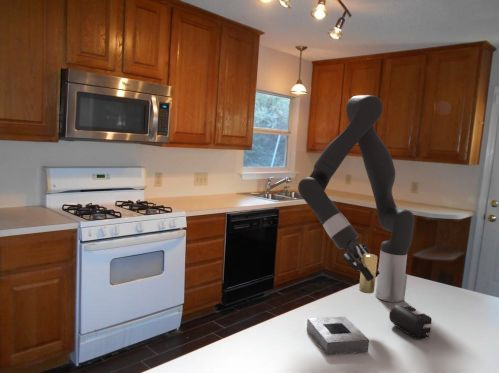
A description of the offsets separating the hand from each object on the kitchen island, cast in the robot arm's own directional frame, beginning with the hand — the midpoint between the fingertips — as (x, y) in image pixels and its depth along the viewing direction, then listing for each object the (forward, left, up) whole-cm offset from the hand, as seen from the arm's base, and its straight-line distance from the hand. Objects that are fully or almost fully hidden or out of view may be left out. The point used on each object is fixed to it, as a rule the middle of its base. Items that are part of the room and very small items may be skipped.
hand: (374, 277), depth 122 cm
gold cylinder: (+1, -1, -5) cm, 5 cm away
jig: (+14, +7, -15) cm, 22 cm away
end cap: (-11, +5, -16) cm, 20 cm away
